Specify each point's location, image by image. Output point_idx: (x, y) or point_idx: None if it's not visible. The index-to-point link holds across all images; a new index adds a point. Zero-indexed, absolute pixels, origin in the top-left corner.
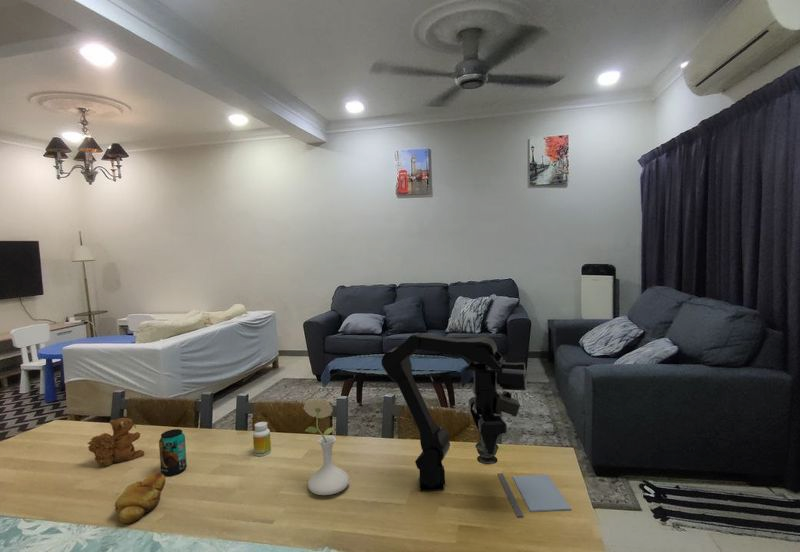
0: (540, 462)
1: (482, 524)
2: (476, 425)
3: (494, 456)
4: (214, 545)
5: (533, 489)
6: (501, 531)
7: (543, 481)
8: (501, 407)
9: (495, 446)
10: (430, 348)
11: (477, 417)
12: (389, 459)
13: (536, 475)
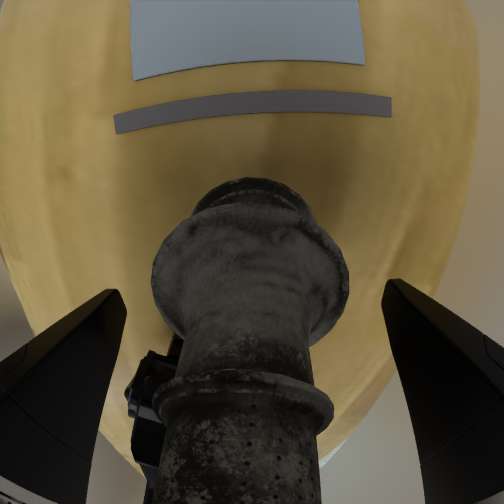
0: (56, 9)
1: (400, 224)
2: (98, 425)
3: (232, 198)
4: (332, 455)
5: (229, 16)
6: (432, 182)
7: None
8: None
9: (284, 242)
10: None
11: (64, 474)
12: (118, 377)
13: (132, 4)
